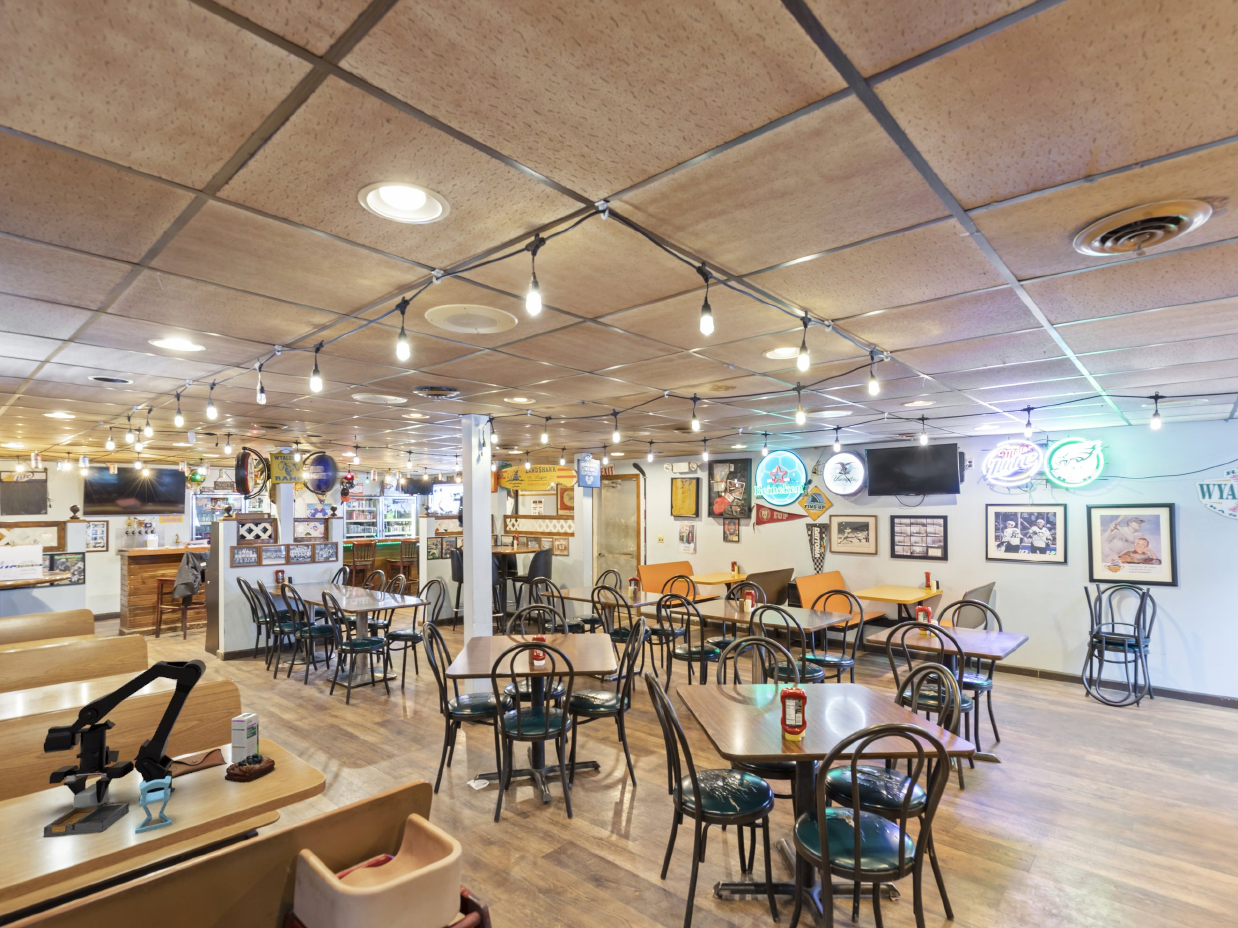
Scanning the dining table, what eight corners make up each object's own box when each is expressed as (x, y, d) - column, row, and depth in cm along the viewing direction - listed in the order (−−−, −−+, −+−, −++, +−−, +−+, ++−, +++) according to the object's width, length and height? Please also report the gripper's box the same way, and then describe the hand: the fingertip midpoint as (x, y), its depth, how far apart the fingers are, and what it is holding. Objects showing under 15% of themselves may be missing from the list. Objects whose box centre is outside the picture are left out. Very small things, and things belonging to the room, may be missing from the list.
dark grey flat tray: (128, 811, 174) (128, 802, 175) (101, 832, 163) (101, 822, 163) (74, 816, 173) (74, 807, 173) (42, 837, 161) (43, 827, 162)
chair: (172, 812, 173) (173, 768, 174) (171, 824, 166) (172, 778, 167) (137, 821, 169) (138, 775, 170) (135, 833, 162) (136, 785, 163)
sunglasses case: (163, 781, 194) (161, 759, 196) (158, 787, 197) (156, 766, 200) (229, 762, 207) (226, 742, 210) (223, 769, 211) (220, 749, 213)
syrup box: (245, 763, 206) (246, 718, 207) (230, 762, 208) (231, 717, 209) (259, 756, 212) (259, 712, 213) (244, 755, 213) (244, 711, 214)
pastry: (219, 781, 194) (220, 761, 194) (252, 765, 205) (252, 747, 206) (248, 784, 191) (248, 764, 191) (279, 768, 202) (279, 749, 203)
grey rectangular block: (108, 800, 182) (108, 782, 183) (89, 813, 174) (89, 794, 175) (93, 801, 182) (93, 783, 182) (73, 814, 174) (73, 795, 174)
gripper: (145, 733, 188) (144, 787, 187) (76, 738, 186) (75, 793, 185) (122, 747, 177) (120, 804, 176) (48, 753, 175) (46, 811, 174)
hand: (91, 802), depth 178 cm, fingers open, 4 cm apart
